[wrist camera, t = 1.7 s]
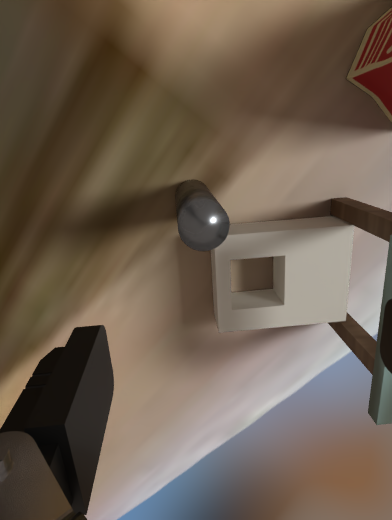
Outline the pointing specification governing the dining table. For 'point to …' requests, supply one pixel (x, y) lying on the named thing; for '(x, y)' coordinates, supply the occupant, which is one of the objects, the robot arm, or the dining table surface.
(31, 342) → the dining table surface
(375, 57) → the milk carton
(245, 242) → the socket block
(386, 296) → the grey arch
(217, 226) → the peg
